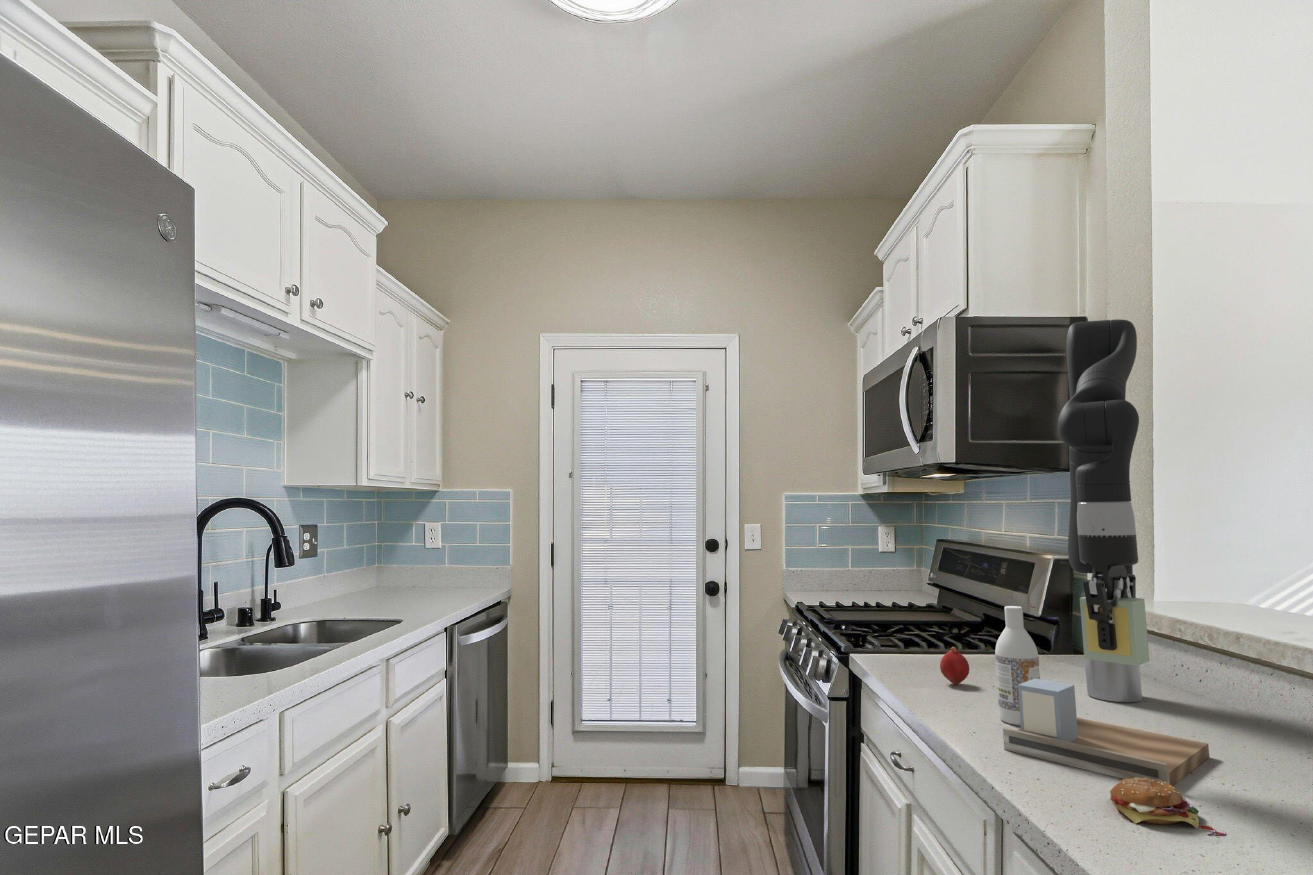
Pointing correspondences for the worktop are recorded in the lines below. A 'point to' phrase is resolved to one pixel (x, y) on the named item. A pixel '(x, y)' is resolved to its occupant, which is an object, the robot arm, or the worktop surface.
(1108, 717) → the worktop surface
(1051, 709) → the box
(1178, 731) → the worktop surface
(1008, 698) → the bath foam
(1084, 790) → the worktop surface
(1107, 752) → the wooden slab
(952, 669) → the onion
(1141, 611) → the tea box
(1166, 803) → the hamburger
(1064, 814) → the worktop surface
